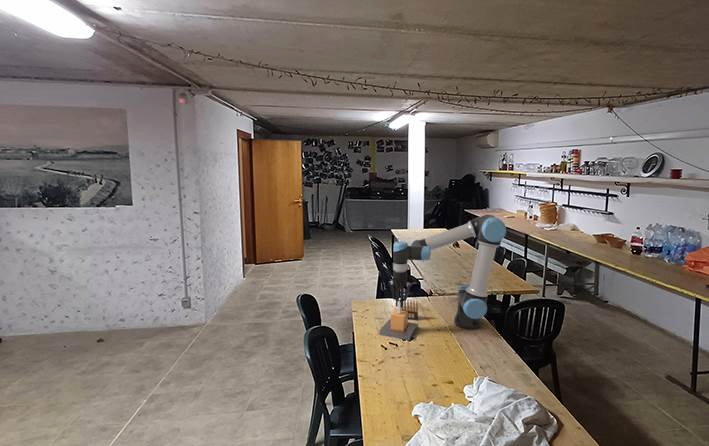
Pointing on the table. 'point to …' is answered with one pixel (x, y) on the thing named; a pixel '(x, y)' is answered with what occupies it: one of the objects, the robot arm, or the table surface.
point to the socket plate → (399, 334)
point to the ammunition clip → (411, 310)
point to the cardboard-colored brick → (399, 320)
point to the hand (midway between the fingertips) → (399, 312)
